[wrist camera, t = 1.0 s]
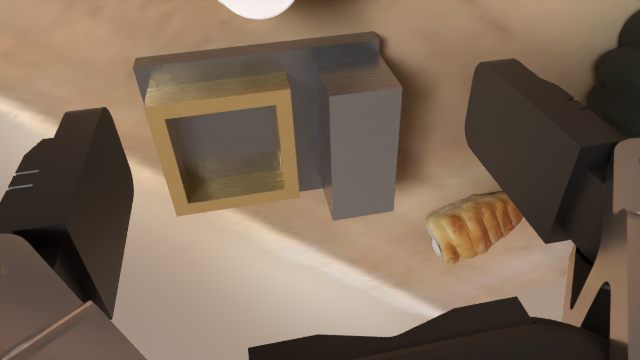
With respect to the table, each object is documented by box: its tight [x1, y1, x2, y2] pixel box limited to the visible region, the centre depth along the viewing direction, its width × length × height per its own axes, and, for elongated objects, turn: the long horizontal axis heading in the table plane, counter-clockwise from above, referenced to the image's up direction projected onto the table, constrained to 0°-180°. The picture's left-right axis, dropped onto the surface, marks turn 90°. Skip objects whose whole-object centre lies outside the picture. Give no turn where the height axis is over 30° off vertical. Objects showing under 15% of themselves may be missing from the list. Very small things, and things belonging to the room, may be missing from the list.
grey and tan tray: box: [133, 32, 403, 221], centre depth 33 cm, size 16×12×6 cm
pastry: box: [426, 191, 523, 266], centre depth 45 cm, size 9×7×4 cm
